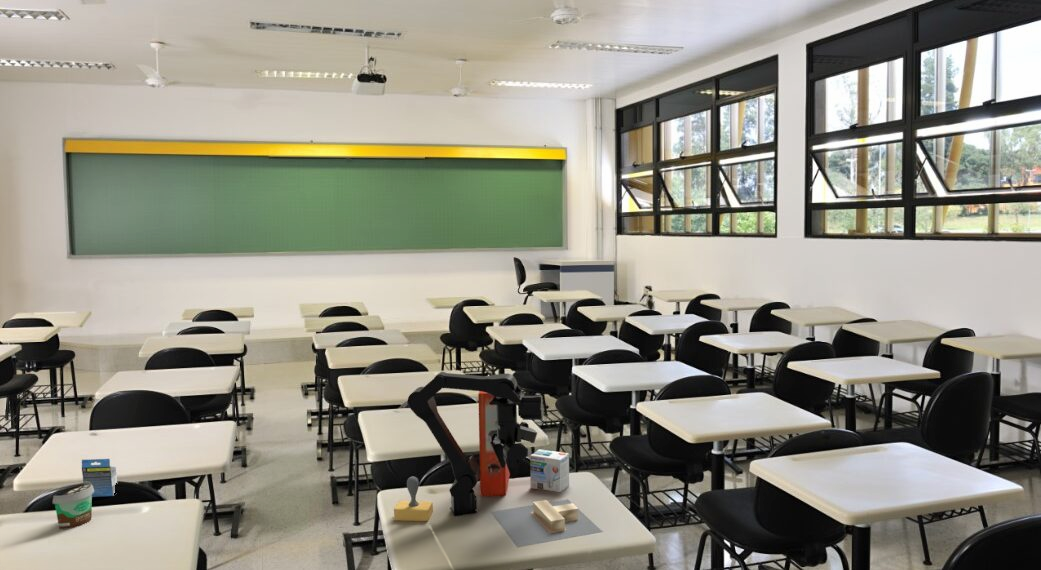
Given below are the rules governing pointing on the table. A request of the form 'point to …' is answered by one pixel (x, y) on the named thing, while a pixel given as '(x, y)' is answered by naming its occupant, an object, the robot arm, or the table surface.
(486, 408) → the file binder
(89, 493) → the food container
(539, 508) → the t block
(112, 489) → the label tape box
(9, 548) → the table surface
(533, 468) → the light bulb box
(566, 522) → the mat
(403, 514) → the rubber stamp
